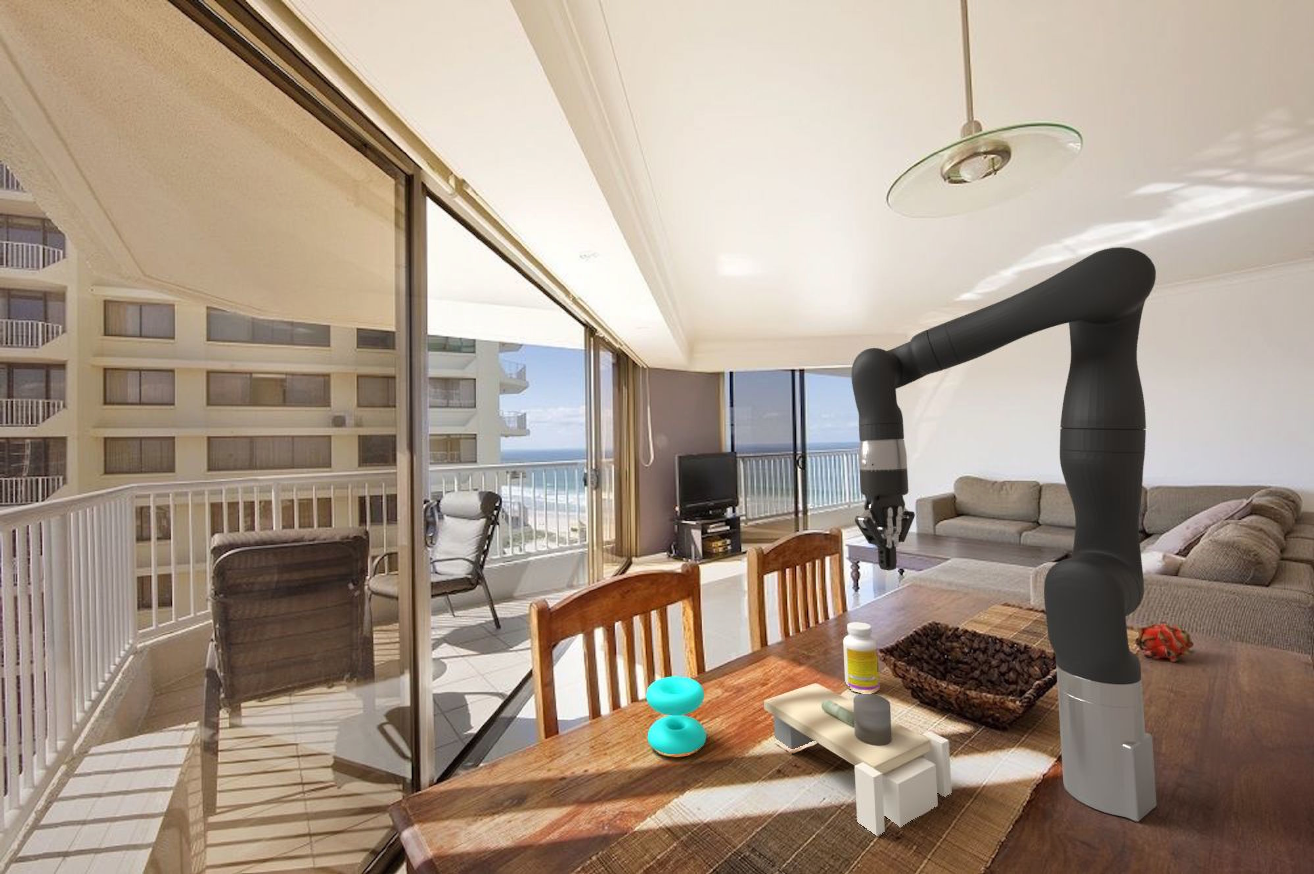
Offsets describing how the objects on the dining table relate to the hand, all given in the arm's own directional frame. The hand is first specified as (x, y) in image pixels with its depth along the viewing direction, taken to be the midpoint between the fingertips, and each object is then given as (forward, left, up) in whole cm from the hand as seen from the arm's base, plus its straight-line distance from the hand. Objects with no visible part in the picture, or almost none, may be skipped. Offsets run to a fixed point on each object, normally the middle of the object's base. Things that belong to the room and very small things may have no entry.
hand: (888, 569), depth 90 cm
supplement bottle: (+17, -12, -29) cm, 36 cm away
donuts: (+20, +31, -29) cm, 47 cm away
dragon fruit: (-10, -78, -29) cm, 84 cm away
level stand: (-1, +13, -29) cm, 32 cm away
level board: (0, +13, -23) cm, 26 cm away
